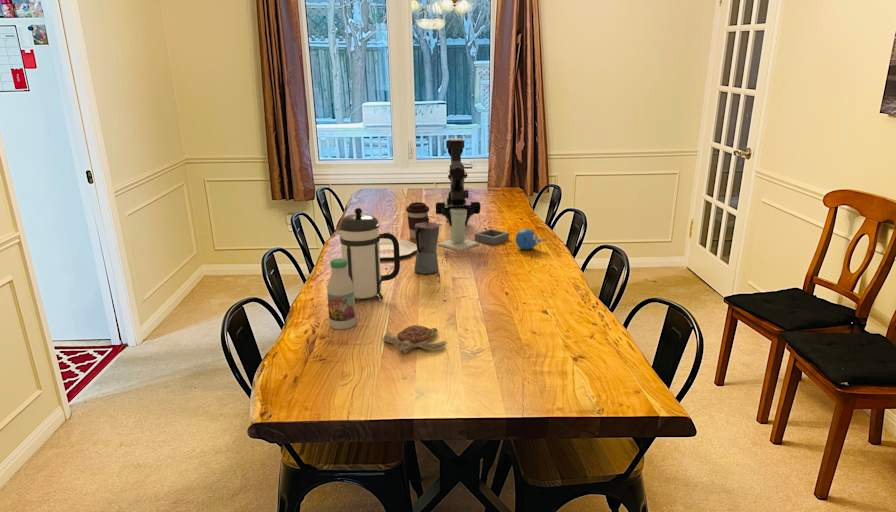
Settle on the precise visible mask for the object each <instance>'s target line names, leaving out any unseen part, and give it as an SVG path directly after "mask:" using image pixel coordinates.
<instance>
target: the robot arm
mask: <svg viewBox="0 0 896 512" xmlns="http://www.w3.org/2000/svg"><path fill="white" fill-rule="evenodd" d="M445 144H446V145H445V147H446V149H447V153H448V155H449V157H450V164H449V170H447V172H448V173H447V178H448V179H449V181H450V190H449V192H448V193H447V194H448V195H447V197H446V202H445V201H442V202H441V201H437V202H436V203H435V214H436V215H442V216H443V217H445V219H446V222H447V223H448V224H449V227H451V212H450V210H451V209H453V208H464V209H466V227H467V225H468V222H469V220H470V218H471V217H472V216H473V215H476V214H480V213H481V203H480V201H471V202H470V204H466V203H467V201H466V199H469V196H470V195H469V189H465V179H467V178H468V172H467V170H465V166H464V164H463V163H462V158H461V156H462V154H463V151H464V149H465V140H463V139H462V137H461V138H455V137H453V138H452V137H450V138H448V140H446V141H445Z"/></svg>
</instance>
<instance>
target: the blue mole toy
mask: <svg viewBox="0 0 896 512" xmlns="http://www.w3.org/2000/svg"><path fill="white" fill-rule="evenodd" d="M545 241H546V239H545V238H540V237H537V233H536V232H535V231H533V230H532V229H530V228H522V229H520V230H518V232H517V233H516V235H515V243H516V245H517V247H518V248H519V249H521V250H527V251H528V250H531V249H532V248H535V246H537V245H538V244H540V243H543V242H545Z"/></svg>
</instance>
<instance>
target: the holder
mask: <svg viewBox="0 0 896 512" xmlns="http://www.w3.org/2000/svg"><path fill="white" fill-rule="evenodd" d="M508 240H510V233H509V232H506V231H503V230H498V229H493V228H488V229H485V230H481V231H478V232H476V233H474V241H476V242H480V243H484V244H489V245H493V246H494V245H498V244H501V243H503V242H505V241H508Z"/></svg>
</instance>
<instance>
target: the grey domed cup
mask: <svg viewBox="0 0 896 512" xmlns="http://www.w3.org/2000/svg"><path fill="white" fill-rule="evenodd" d="M450 212H451V226H450V230H451V232H450V239H451V241H453V242H463V241H465V240H466V239H467V238H466V231H467V229H466V227H467V226H466V214H467V210H466V209H464V208H453V209H451V210H450Z"/></svg>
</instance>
